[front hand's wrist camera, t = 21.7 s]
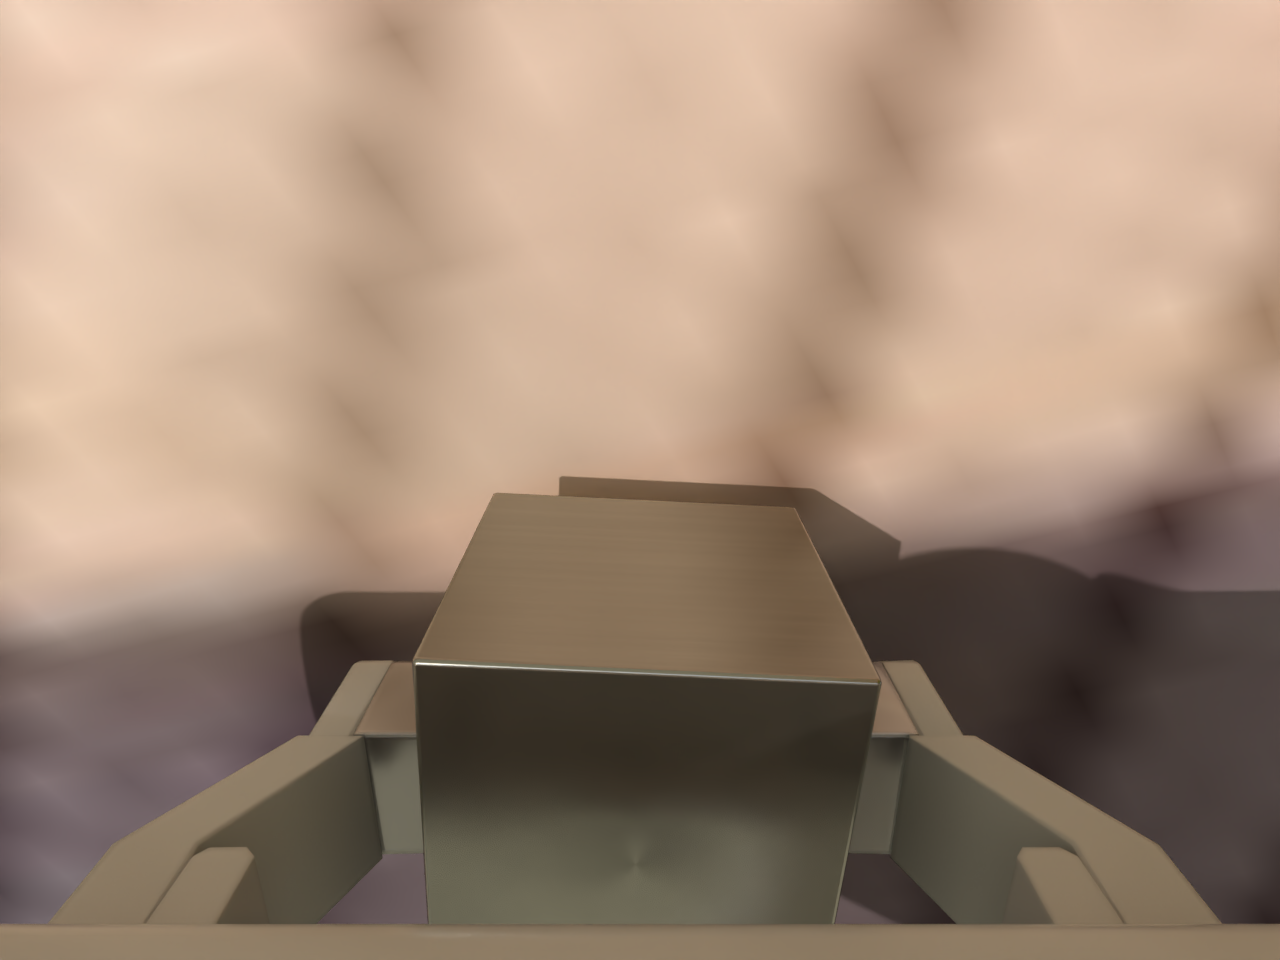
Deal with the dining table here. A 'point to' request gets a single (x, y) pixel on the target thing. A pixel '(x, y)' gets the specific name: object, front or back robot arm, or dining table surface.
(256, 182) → the dining table surface
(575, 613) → the block
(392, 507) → the dining table surface
